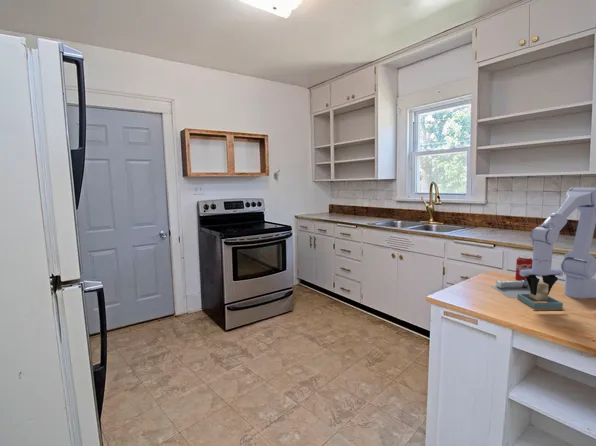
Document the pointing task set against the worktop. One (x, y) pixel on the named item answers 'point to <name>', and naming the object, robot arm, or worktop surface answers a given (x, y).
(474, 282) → the worktop surface
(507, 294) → the crank board
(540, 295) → the block
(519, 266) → the beverage can
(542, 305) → the tray
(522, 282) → the crank lever
